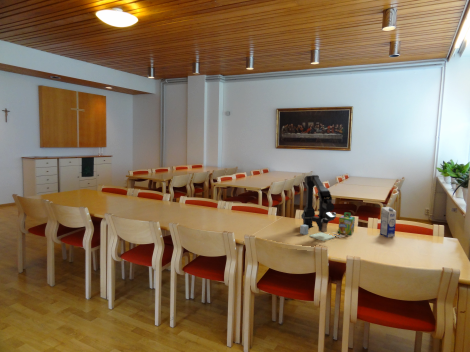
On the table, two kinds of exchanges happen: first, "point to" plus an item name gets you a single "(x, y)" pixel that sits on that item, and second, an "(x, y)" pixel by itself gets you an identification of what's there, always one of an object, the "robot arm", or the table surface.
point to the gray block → (304, 229)
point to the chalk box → (346, 224)
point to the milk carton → (388, 222)
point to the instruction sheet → (339, 235)
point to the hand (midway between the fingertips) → (322, 229)
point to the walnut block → (323, 227)
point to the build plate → (322, 236)
